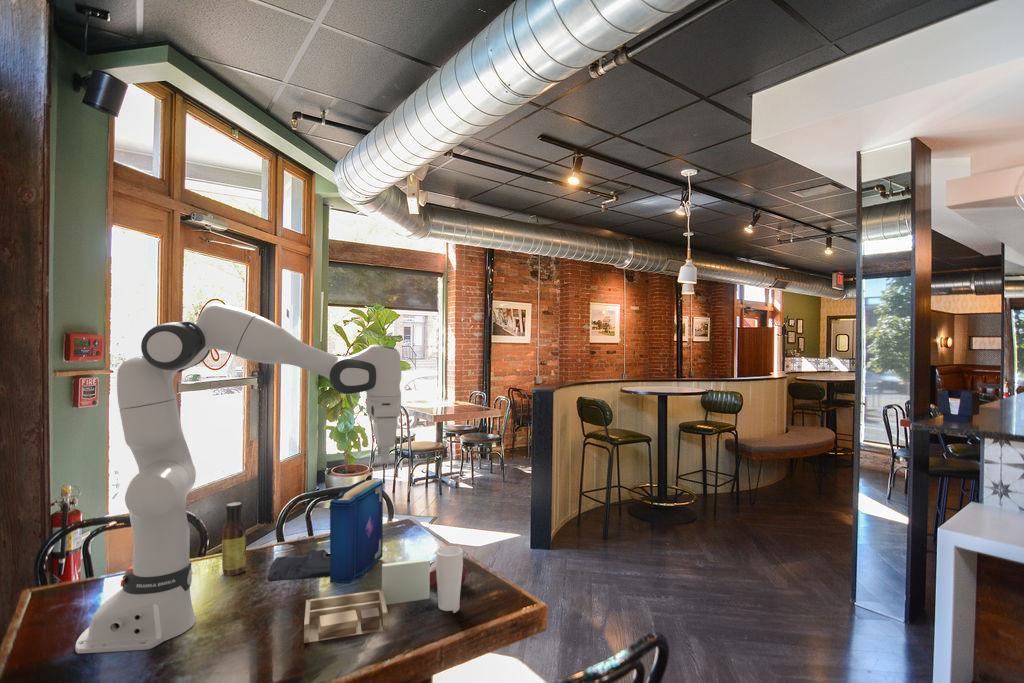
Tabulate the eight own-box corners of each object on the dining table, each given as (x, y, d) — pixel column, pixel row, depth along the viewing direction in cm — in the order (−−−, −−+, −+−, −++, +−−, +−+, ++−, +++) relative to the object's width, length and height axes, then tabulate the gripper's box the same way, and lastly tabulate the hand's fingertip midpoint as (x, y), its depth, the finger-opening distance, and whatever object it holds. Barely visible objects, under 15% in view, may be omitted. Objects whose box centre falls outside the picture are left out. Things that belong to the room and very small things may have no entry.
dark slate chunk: (275, 562, 163) (275, 546, 163) (349, 556, 168) (349, 541, 168) (264, 583, 148) (264, 566, 148) (346, 577, 154) (346, 560, 154)
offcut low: (318, 639, 118) (318, 632, 118) (318, 628, 122) (318, 621, 122) (355, 633, 120) (355, 626, 120) (354, 622, 125) (354, 616, 125)
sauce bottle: (250, 571, 156) (251, 503, 156) (229, 578, 150) (230, 508, 151) (237, 565, 159) (239, 499, 159) (216, 573, 154) (218, 504, 154)
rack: (303, 648, 116) (304, 624, 116) (305, 621, 128) (306, 599, 128) (387, 634, 122) (387, 612, 122) (382, 610, 133) (382, 589, 134)
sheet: (382, 610, 134) (382, 566, 134) (381, 607, 135) (382, 564, 135) (429, 603, 138) (429, 560, 138) (428, 600, 139) (428, 558, 139)
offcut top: (320, 633, 117) (320, 626, 117) (319, 622, 122) (319, 616, 122) (357, 626, 121) (358, 619, 121) (355, 616, 125) (355, 609, 125)
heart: (419, 577, 151) (426, 597, 142) (421, 552, 150) (428, 570, 141) (460, 573, 155) (469, 592, 146) (462, 548, 154) (471, 565, 145)
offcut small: (361, 631, 121) (361, 618, 121) (360, 622, 125) (360, 610, 125) (379, 628, 123) (379, 615, 123) (377, 620, 126) (378, 607, 126)
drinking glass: (451, 601, 139) (452, 543, 139) (467, 610, 134) (468, 551, 134) (429, 609, 134) (430, 550, 134) (446, 619, 129) (447, 558, 129)
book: (348, 589, 144) (350, 498, 145) (325, 587, 146) (327, 496, 146) (383, 559, 166) (384, 479, 166) (362, 557, 167) (363, 477, 167)
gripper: (368, 402, 148) (367, 452, 147) (374, 411, 128) (373, 468, 128) (391, 402, 150) (390, 450, 150) (400, 410, 130) (400, 466, 130)
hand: (382, 459), depth 139 cm, fingers open, 8 cm apart
